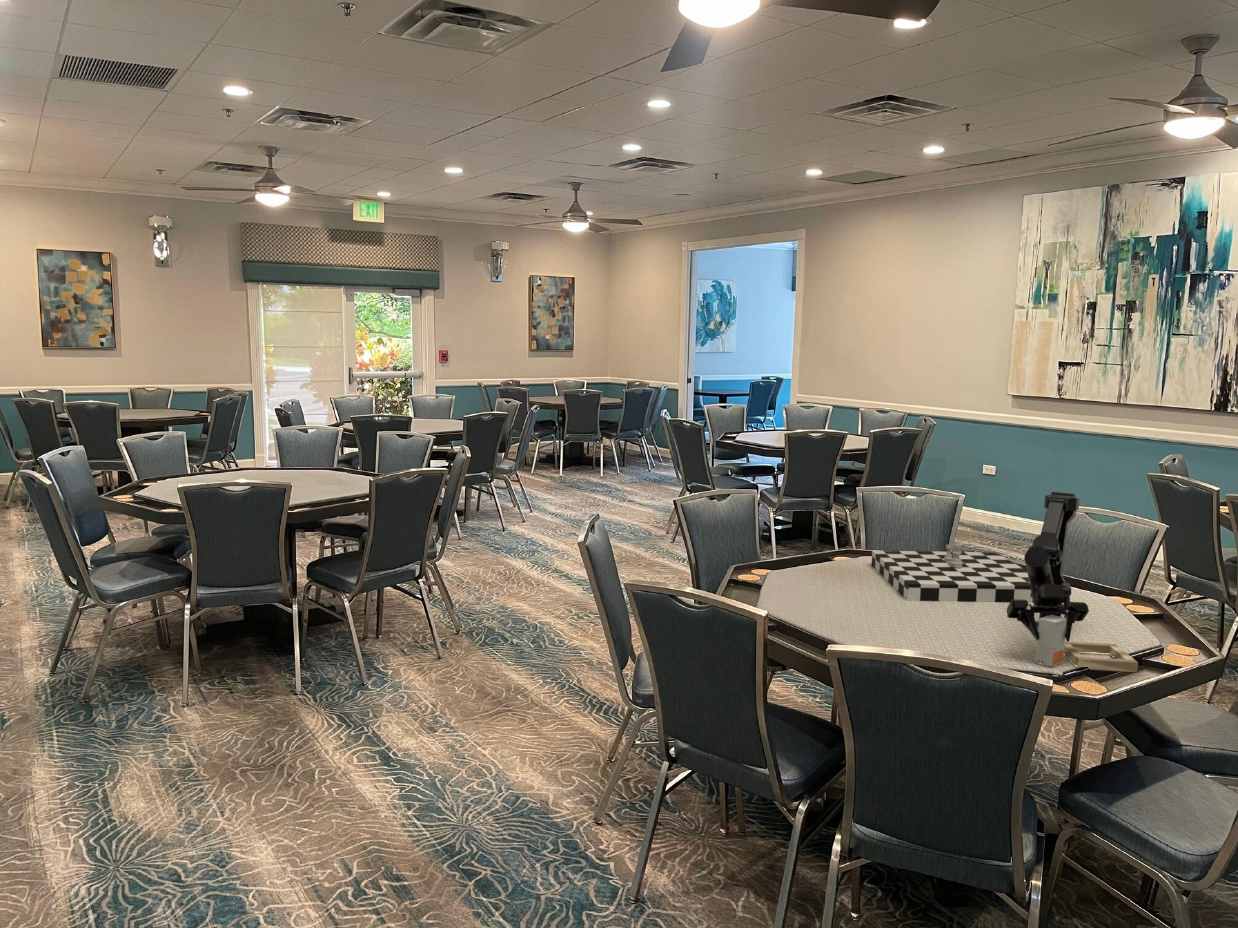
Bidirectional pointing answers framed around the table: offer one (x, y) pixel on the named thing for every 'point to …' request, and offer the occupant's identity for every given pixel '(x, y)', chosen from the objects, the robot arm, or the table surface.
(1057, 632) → the skincare box
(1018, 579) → the checkerboard
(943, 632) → the table surface
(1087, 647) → the wooden picture frame
